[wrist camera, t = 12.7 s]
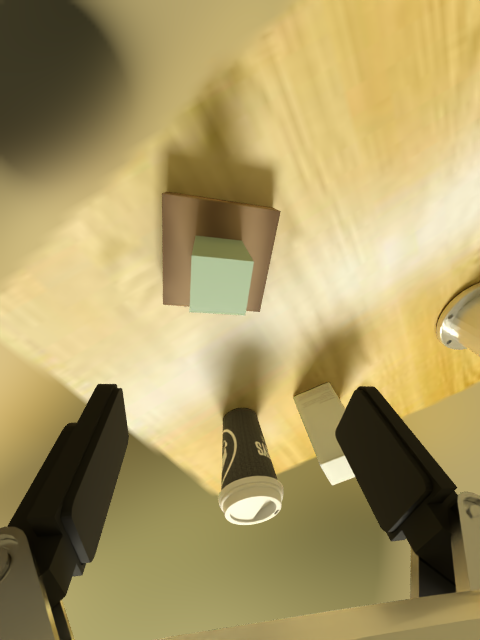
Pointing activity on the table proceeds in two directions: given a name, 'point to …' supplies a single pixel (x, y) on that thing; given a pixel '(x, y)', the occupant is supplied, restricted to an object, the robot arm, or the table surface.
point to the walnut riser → (218, 222)
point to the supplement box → (324, 429)
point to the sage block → (220, 276)
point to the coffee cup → (247, 471)
